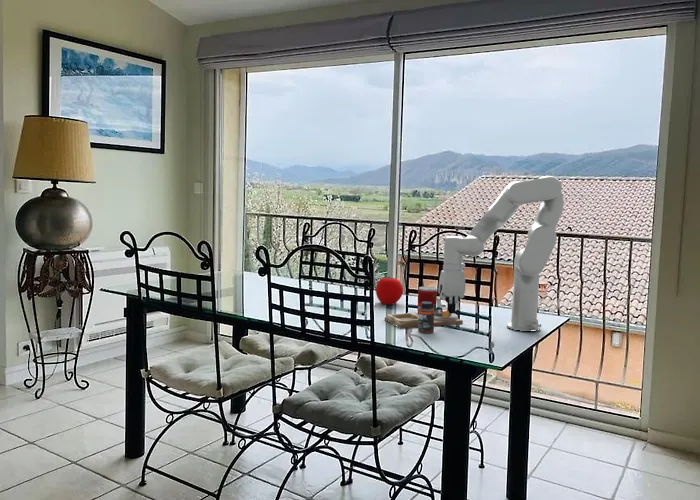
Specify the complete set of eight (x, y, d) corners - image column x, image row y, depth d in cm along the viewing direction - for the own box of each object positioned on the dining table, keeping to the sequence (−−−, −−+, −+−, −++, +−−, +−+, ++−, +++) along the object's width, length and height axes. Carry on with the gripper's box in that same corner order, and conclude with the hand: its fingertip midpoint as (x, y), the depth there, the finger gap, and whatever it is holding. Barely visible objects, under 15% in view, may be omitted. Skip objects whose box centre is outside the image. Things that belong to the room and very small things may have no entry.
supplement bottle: (430, 329, 244) (431, 300, 242) (435, 333, 238) (437, 303, 237) (415, 329, 243) (416, 300, 241) (420, 334, 237) (422, 304, 235)
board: (464, 323, 255) (465, 316, 255) (400, 328, 244) (400, 321, 244) (446, 315, 268) (446, 309, 268) (384, 320, 257) (384, 313, 256)
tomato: (371, 304, 285) (372, 277, 284) (380, 300, 296) (381, 273, 295) (397, 307, 281) (398, 279, 279) (405, 302, 291) (406, 275, 290)
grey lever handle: (433, 312, 263) (434, 301, 262) (450, 312, 262) (451, 302, 262) (436, 320, 248) (436, 309, 247) (454, 321, 248) (454, 310, 247)
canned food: (435, 316, 267) (436, 290, 265) (416, 314, 268) (417, 289, 267) (436, 312, 274) (437, 287, 273) (418, 310, 276) (419, 285, 274)
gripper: (464, 265, 257) (462, 309, 259) (431, 266, 251) (430, 312, 253) (474, 268, 250) (472, 313, 252) (441, 269, 244) (439, 316, 246)
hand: (451, 312), depth 253 cm, fingers closed
